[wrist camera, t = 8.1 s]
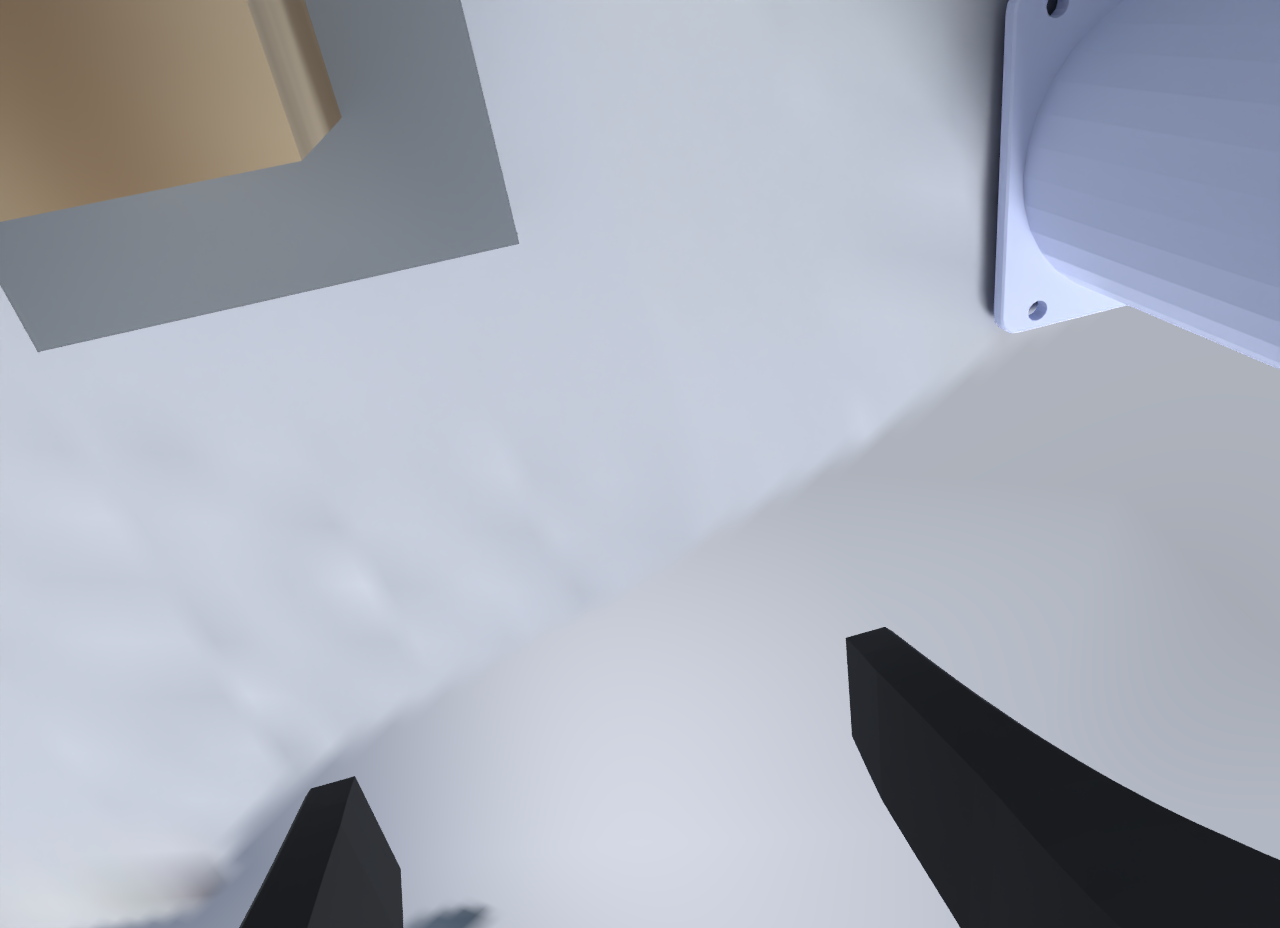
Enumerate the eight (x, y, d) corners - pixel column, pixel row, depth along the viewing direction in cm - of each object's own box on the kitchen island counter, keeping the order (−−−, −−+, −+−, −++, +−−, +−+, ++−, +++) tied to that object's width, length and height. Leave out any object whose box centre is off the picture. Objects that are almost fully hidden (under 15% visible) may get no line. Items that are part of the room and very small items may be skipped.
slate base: (378, -322, 14) (368, -381, 12) (510, 216, 19) (519, 243, 16) (-194, -233, 13) (-317, -280, 11) (86, 310, 18) (37, 351, 16)
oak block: (253, -162, 13) (159, -251, 9) (341, 117, 15) (301, 160, 11) (-23, -117, 12) (-269, -186, 8) (105, 164, 14) (-38, 229, 10)
